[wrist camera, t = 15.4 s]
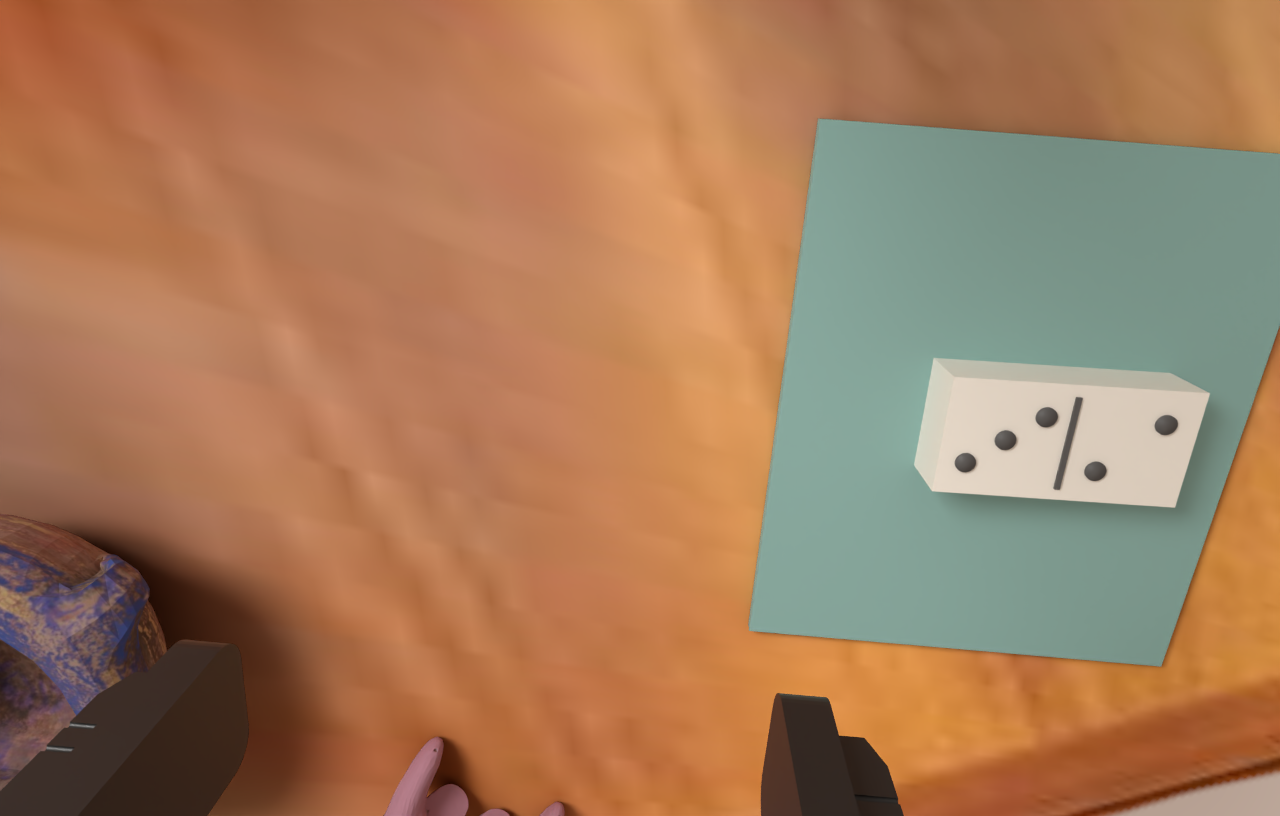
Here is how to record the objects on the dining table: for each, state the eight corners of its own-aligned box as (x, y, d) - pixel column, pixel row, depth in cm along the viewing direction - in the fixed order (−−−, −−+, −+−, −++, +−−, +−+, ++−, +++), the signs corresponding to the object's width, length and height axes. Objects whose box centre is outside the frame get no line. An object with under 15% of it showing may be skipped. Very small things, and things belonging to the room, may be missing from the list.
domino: (955, 378, 35) (1212, 394, 35) (933, 357, 38) (1170, 372, 38) (933, 492, 37) (1177, 509, 37) (914, 464, 40) (1139, 480, 40)
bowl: (217, 767, 49) (108, 920, 40) (-81, 699, 48) (-264, 839, 39) (240, 510, 43) (119, 619, 34) (-100, 429, 42) (-321, 517, 33)
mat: (818, 118, 35) (820, 118, 35) (1327, 157, 35) (1337, 158, 34) (748, 624, 44) (749, 630, 44) (1155, 659, 44) (1161, 666, 43)
